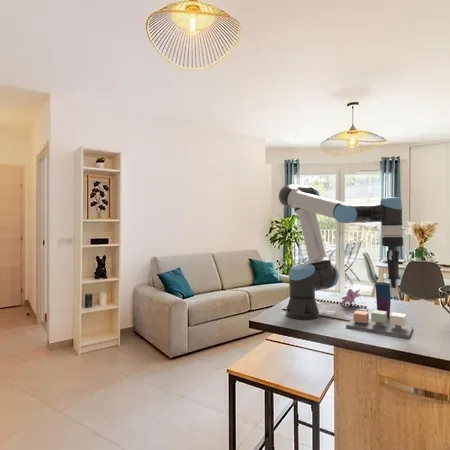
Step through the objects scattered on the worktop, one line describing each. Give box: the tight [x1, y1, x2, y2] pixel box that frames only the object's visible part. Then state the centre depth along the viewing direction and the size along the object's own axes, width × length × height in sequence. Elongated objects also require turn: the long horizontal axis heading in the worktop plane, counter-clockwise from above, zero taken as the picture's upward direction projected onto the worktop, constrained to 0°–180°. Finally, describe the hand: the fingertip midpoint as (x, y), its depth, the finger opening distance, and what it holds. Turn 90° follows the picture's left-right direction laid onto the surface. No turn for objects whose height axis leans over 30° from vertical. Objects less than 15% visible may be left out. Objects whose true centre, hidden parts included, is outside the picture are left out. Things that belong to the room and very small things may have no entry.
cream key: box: [389, 311, 407, 326], centre depth 131 cm, size 5×5×4 cm
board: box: [345, 317, 414, 339], centre depth 135 cm, size 23×13×3 cm, turn 55°
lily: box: [340, 288, 361, 308], centre depth 168 cm, size 12×12×10 cm
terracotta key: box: [352, 309, 370, 323], centre depth 139 cm, size 5×5×4 cm
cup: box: [374, 281, 392, 319], centre depth 151 cm, size 7×7×15 cm
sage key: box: [370, 309, 388, 323], centre depth 135 cm, size 5×5×4 cm
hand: (394, 295), depth 131 cm, fingers closed
